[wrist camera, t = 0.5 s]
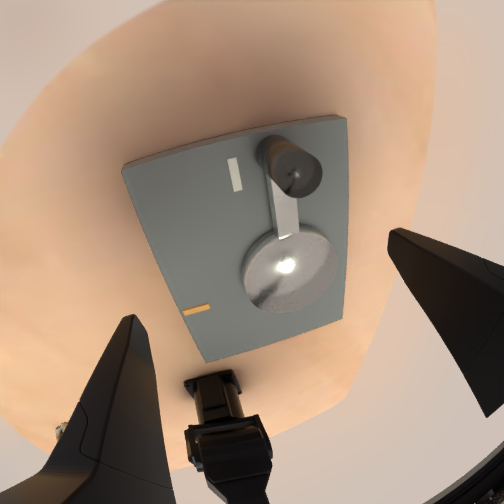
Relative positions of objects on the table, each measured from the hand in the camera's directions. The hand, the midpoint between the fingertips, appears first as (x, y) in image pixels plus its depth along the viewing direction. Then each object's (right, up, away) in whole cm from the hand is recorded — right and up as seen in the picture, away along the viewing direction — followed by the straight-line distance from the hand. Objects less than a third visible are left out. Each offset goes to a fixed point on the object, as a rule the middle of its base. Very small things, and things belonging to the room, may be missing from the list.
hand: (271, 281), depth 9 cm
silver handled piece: (+2, +3, +14) cm, 14 cm away
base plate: (0, +1, +17) cm, 17 cm away
